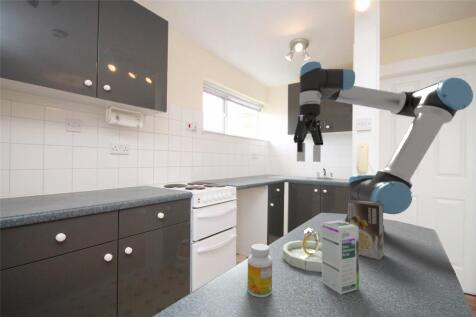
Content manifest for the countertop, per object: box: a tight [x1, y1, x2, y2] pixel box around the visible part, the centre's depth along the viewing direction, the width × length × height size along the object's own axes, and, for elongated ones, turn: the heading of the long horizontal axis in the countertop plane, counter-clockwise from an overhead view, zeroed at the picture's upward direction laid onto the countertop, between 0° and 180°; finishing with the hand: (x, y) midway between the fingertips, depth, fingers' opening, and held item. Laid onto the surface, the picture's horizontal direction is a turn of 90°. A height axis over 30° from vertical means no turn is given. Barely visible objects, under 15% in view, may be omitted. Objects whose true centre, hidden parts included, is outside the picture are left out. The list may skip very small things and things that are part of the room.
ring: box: [301, 227, 321, 256], centre depth 68 cm, size 7×3×8 cm, turn 118°
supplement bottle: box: [247, 243, 273, 298], centre depth 50 cm, size 5×5×10 cm
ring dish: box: [282, 239, 322, 273], centre depth 67 cm, size 16×16×2 cm
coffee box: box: [347, 200, 385, 261], centre depth 72 cm, size 9×6×16 cm
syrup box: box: [321, 219, 360, 296], centre depth 53 cm, size 6×6×14 cm
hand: (309, 161), depth 85 cm, fingers open, 13 cm apart
